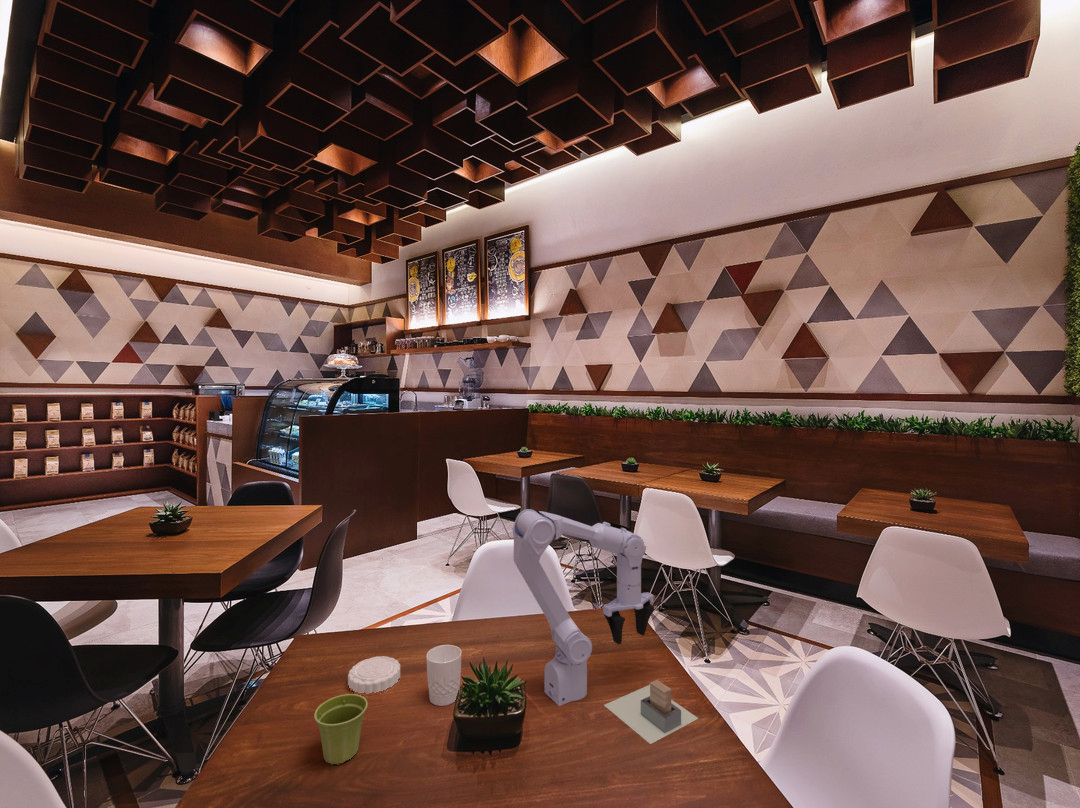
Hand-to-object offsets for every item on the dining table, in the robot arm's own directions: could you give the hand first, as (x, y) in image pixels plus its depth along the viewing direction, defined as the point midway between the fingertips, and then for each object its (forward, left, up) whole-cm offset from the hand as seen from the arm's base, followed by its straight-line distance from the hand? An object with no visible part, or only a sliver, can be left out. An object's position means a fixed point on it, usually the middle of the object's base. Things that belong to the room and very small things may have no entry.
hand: (629, 638), depth 114 cm
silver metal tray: (-5, -15, -10) cm, 19 cm away
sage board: (-5, -12, -10) cm, 17 cm away
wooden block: (-5, -15, -9) cm, 18 cm away
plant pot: (-63, +12, -11) cm, 65 cm away
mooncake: (-52, +33, -11) cm, 63 cm away
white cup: (-40, +18, -11) cm, 45 cm away
